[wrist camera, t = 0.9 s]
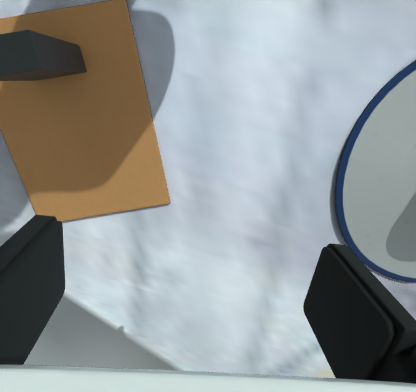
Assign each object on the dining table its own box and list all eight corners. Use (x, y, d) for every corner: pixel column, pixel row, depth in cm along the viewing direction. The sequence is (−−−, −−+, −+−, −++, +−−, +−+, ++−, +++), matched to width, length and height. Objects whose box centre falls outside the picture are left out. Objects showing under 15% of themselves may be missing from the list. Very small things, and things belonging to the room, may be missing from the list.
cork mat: (-40, 26, 31) (-44, 25, 31) (125, -2, 31) (124, -3, 31) (41, 223, 40) (40, 224, 40) (170, 202, 40) (170, 203, 40)
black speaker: (25, 52, 32) (-51, 39, 22) (79, 43, 32) (27, 26, 22) (35, 80, 33) (-33, 81, 23) (87, 72, 33) (42, 69, 23)
